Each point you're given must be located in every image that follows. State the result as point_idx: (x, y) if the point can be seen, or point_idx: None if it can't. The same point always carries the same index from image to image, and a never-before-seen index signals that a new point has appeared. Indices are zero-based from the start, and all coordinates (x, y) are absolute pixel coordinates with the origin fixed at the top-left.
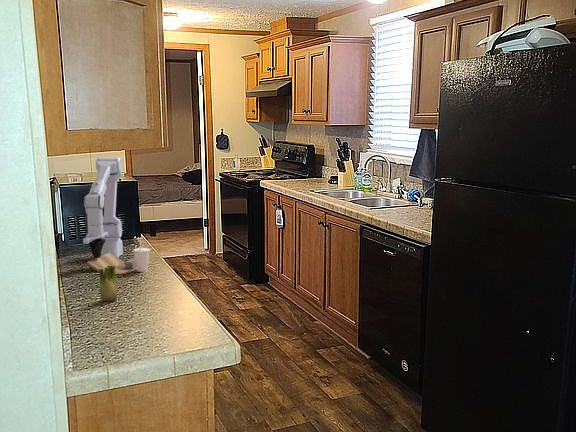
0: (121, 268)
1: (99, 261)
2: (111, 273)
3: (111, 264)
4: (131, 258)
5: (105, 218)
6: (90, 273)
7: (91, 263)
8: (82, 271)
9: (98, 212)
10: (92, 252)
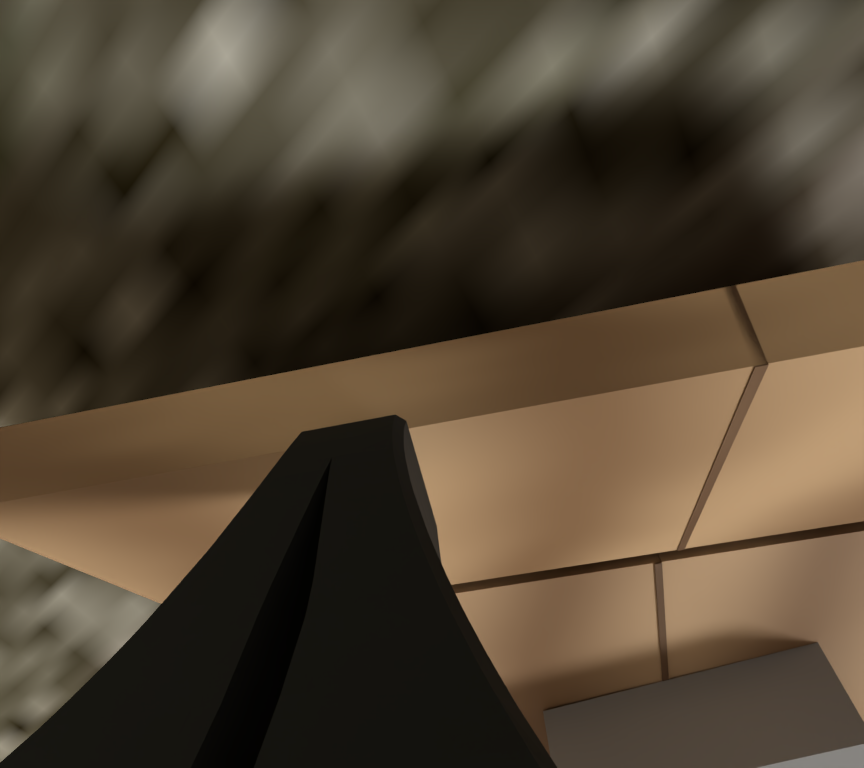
0: (520, 676)
1: None
2: None
3: (562, 542)
4: (847, 756)
5: None
6: (153, 350)
7: (63, 539)
8: (129, 85)
9: None
10: (215, 558)
